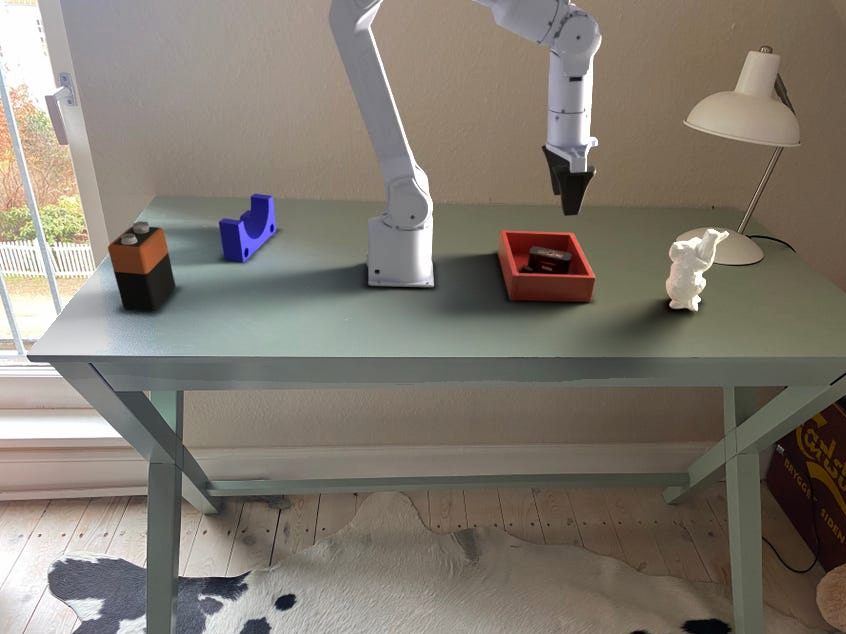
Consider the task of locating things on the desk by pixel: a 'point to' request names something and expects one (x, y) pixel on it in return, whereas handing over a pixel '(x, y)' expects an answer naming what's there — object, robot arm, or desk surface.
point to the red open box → (537, 284)
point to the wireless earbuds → (547, 262)
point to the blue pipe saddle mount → (248, 229)
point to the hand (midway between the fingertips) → (565, 204)
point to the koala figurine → (690, 268)
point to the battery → (142, 267)
